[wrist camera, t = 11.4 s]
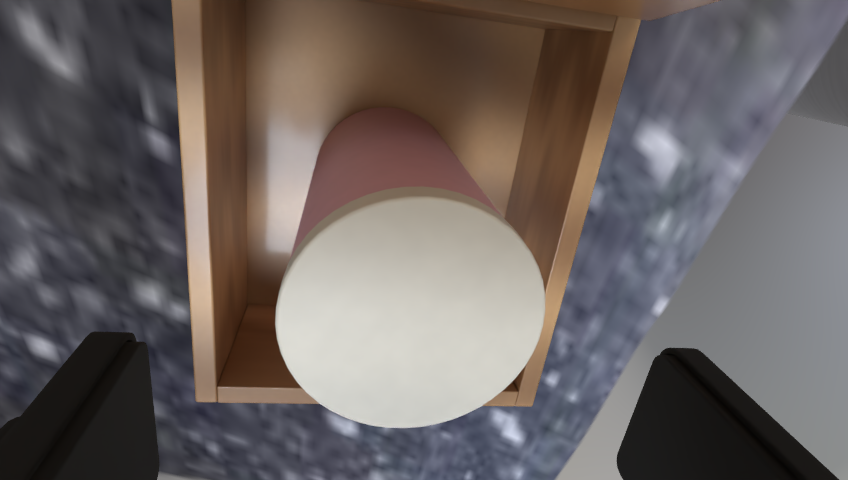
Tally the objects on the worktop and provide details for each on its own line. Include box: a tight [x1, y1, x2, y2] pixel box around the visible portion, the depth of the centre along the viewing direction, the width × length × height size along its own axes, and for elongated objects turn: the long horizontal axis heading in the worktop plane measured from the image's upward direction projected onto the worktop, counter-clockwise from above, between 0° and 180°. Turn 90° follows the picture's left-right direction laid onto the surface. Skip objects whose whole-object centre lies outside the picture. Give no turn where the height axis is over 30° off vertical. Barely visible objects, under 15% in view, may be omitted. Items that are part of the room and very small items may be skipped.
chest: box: [171, 0, 641, 406], centre depth 20 cm, size 16×14×7 cm
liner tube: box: [275, 107, 545, 428], centre depth 17 cm, size 6×6×12 cm
